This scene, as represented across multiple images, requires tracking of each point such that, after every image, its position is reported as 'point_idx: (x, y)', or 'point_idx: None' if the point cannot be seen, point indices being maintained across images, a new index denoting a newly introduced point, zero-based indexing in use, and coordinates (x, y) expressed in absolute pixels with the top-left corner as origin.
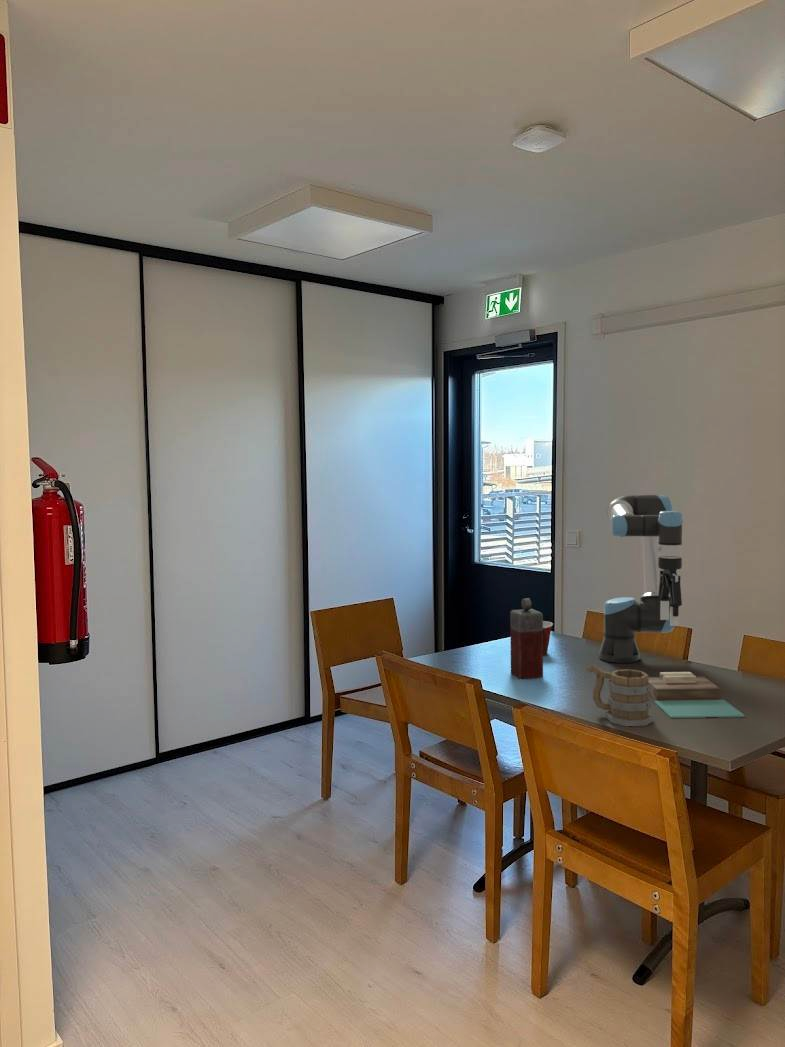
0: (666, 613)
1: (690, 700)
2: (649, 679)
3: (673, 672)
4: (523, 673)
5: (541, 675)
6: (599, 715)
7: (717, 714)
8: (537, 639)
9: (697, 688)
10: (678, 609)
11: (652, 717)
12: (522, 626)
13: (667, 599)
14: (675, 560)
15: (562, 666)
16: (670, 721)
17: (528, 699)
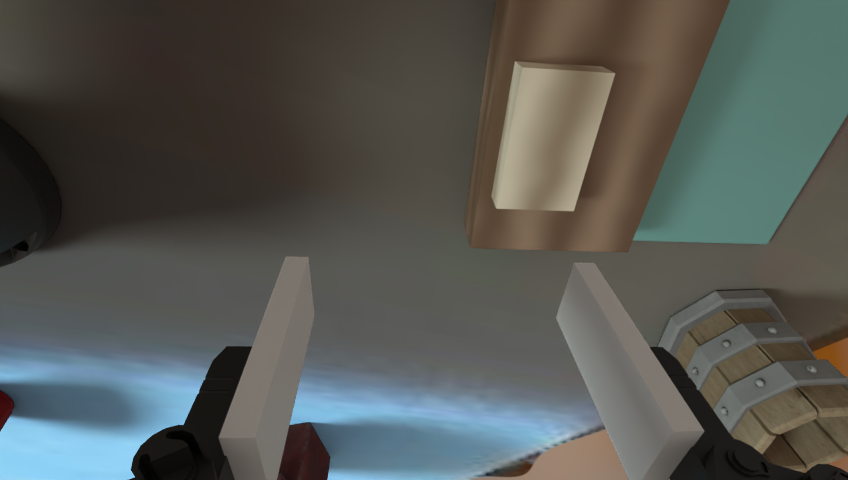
0: (297, 321)
1: None
2: (501, 237)
3: (514, 153)
4: (325, 468)
5: (310, 431)
6: None
7: (843, 95)
8: None
9: (685, 102)
10: (675, 397)
11: (772, 300)
12: None
13: (215, 467)
14: None
15: (169, 371)
16: (784, 249)
17: (494, 458)
